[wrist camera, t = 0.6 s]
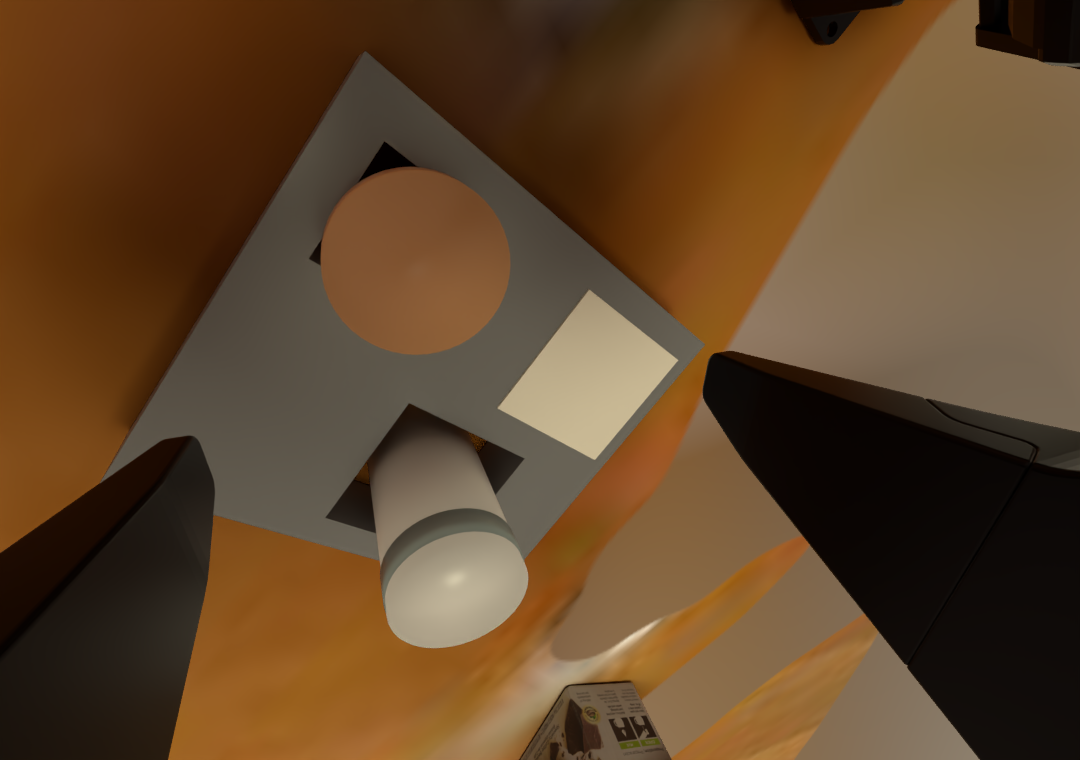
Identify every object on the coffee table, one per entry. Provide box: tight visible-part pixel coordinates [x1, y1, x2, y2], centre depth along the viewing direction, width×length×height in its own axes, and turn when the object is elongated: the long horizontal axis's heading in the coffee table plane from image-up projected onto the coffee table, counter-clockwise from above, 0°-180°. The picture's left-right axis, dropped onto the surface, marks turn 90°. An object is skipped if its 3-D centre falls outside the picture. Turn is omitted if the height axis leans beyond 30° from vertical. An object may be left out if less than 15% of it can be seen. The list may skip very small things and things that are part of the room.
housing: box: [100, 51, 705, 561], centre depth 20 cm, size 15×16×3 cm
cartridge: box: [367, 403, 528, 648], centre depth 20 cm, size 4×4×8 cm
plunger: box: [321, 167, 510, 355], centre depth 15 cm, size 5×5×4 cm
